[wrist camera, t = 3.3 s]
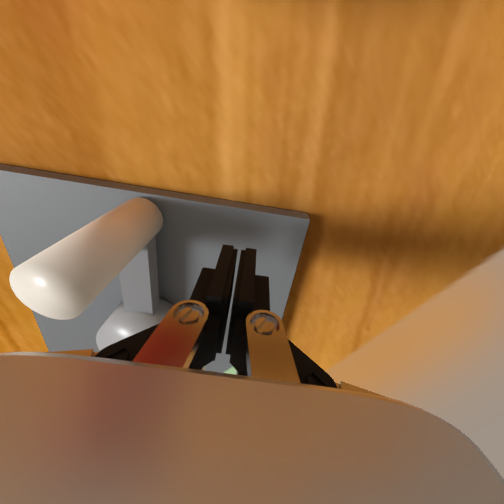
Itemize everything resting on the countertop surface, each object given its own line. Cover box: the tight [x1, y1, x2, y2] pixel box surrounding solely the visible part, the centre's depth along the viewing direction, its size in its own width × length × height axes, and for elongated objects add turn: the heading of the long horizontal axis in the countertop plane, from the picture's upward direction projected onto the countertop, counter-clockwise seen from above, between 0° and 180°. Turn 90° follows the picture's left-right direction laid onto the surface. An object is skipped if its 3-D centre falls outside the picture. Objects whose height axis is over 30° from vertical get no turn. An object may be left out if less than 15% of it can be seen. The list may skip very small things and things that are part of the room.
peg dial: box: [10, 197, 174, 351], centre depth 17 cm, size 22×6×8 cm, turn 172°
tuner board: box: [0, 164, 310, 375], centre depth 21 cm, size 21×22×1 cm
